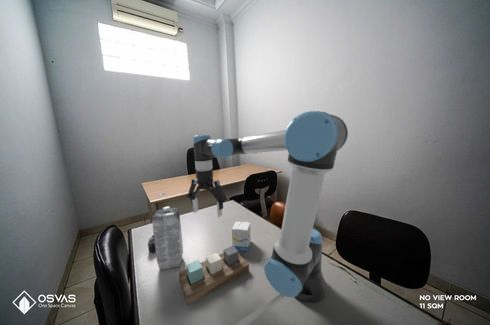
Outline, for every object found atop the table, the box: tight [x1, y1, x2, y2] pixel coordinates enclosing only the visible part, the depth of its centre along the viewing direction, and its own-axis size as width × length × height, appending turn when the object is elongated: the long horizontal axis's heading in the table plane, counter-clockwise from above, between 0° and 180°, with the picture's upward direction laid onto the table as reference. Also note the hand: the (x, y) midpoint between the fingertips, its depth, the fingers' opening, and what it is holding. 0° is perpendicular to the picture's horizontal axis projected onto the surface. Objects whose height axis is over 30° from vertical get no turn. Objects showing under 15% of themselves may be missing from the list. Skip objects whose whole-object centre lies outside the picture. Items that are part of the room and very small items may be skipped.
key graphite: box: [223, 245, 239, 267], centre depth 76 cm, size 5×5×5 cm
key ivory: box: [205, 252, 222, 276], centre depth 72 cm, size 5×5×5 cm
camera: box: [147, 234, 156, 254], centre depth 94 cm, size 16×8×10 cm, turn 161°
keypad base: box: [178, 252, 250, 305], centre depth 73 cm, size 13×26×4 cm, turn 123°
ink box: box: [231, 221, 252, 252], centre depth 91 cm, size 9×8×12 cm
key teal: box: [186, 259, 203, 285], centre depth 68 cm, size 5×5×5 cm
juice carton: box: [151, 206, 184, 271], centre depth 79 cm, size 9×10×27 cm
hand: (207, 213), depth 82 cm, fingers open, 13 cm apart
